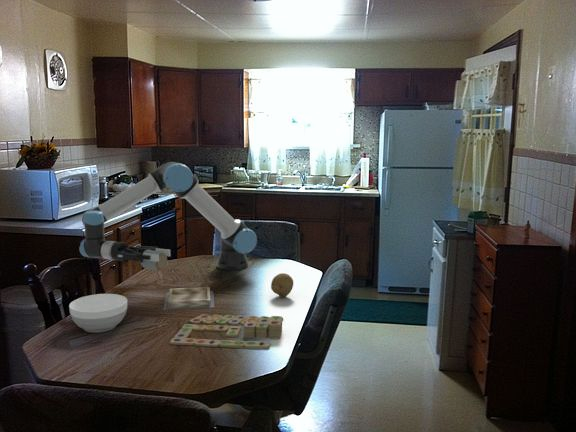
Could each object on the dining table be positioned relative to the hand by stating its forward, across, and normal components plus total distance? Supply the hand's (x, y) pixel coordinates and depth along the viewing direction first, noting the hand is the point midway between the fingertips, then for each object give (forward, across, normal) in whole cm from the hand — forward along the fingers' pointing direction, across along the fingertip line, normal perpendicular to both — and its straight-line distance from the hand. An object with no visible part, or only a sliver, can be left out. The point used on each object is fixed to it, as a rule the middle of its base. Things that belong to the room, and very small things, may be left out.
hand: (164, 255), depth 208 cm
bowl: (-6, +34, -18) cm, 38 cm away
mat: (+10, -1, -18) cm, 21 cm away
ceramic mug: (-5, -1, -6) cm, 8 cm away
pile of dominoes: (+39, +22, -18) cm, 48 cm away
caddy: (+10, -1, -17) cm, 20 cm away
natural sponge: (+44, -17, -18) cm, 50 cm away
